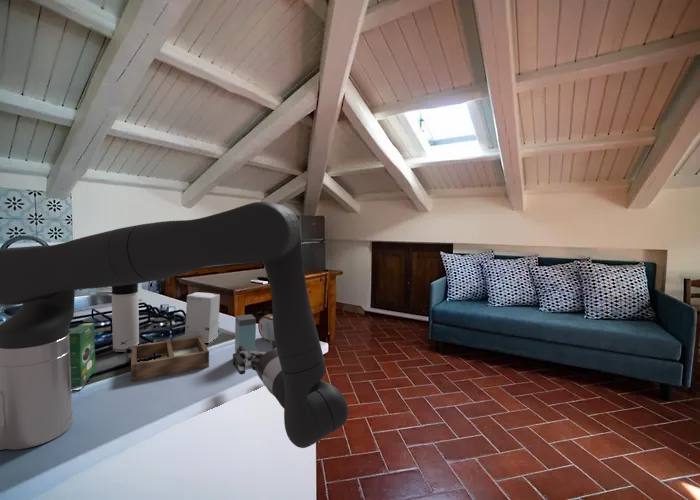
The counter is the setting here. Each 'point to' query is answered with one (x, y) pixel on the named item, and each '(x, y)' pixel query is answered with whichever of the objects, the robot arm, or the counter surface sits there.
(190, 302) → the skincare box
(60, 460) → the counter surface
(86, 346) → the coffee box
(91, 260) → the robot arm
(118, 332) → the travel mug
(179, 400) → the counter surface
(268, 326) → the tin
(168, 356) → the caddy
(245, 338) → the teal square bottle
